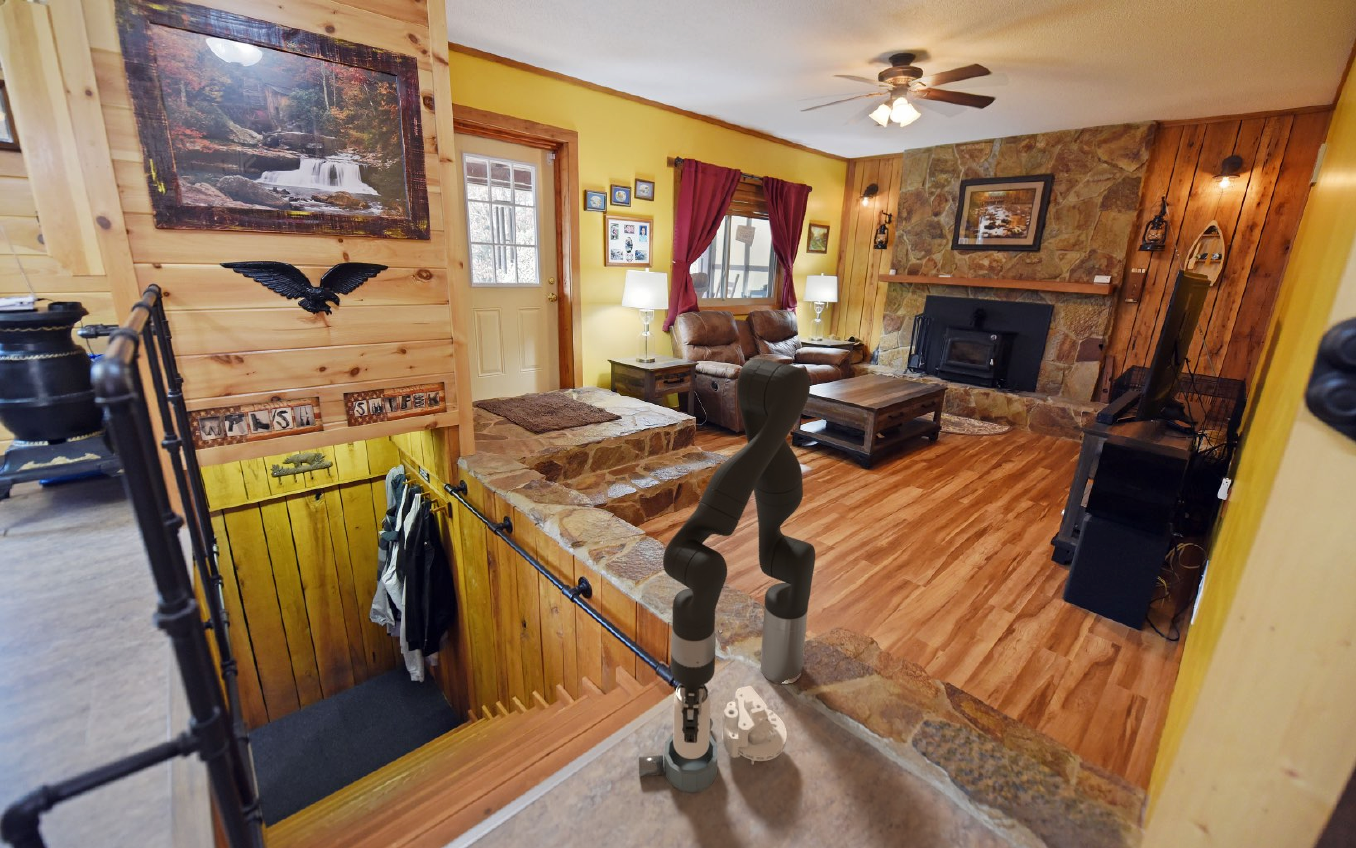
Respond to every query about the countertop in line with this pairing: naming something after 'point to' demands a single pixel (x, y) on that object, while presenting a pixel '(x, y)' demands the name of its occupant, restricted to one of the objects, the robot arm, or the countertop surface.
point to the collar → (690, 768)
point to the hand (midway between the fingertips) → (691, 725)
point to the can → (704, 727)
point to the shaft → (651, 765)
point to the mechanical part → (752, 728)
